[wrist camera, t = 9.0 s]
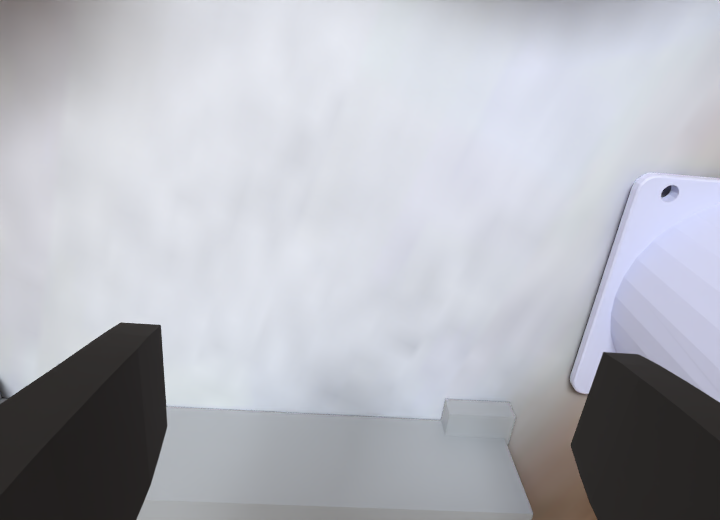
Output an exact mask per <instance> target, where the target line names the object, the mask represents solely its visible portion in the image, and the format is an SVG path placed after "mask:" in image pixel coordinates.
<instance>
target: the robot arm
mask: <svg viewBox="0 0 720 520" xmlns="http://www.w3.org/2000/svg"><path fill="white" fill-rule="evenodd" d="M670 185H672V188H671V191H670V193H669V194H668V195H667V196H665V197H662V198H661V193H662V191H663V190H664V188H666V187H667V186H670ZM570 382H571V384H572V386H573V388H574V389H575V390H576V391H577V392H578V393H582V394H588V397H587V400H586V403H585V405H584V408H583V411H582V414H581V417H580V420H579V423H578V425H577V428H576V431H575V434H574V437H573V440H572V443H571V448H572V451H573V454H574V457H575V461H576V464H577V467H578V470H579V473H580V476H581V479H582V482H583V485H584V488H585V490H586V493H587V496H588V499H589V502H590V504H591V506H592V508H593V511H594V513H595V515H596V517H597V519H598V520H720V178H710V177H699V176H688V175H677V174H665V173H654V172H653V173H646V174H644V175H642V176H640V177H639V178H638V179H637V180H636V181H635V182H634V184H633V186H632V188H631V191H630V194H629V198H628V201H627V204H626V207H625V210H624V213H623V216H622V219H621V222H620V225H619V228H618V231H617V234H616V237H615V240H614V244H613V247H612V250H611V253H610V256H609V259H608V262H607V265H606V268H605V271H604V274H603V277H602V280H601V283H600V286H599V290H598V293H597V296H596V299H595V302H594V305H593V308H592V311H591V314H590V317H589V320H588V323H587V326H586V329H585V332H584V336H583V339H582V342H581V345H580V348H579V351H578V354H577V357H576V360H575V363H574V366H573V369H572V372H571V375H570ZM166 430H167V411H166V396H165V382H164V367H163V352H162V337H161V325H151V324H135V323H119V324H118V325H116V326H115V327H113V328H111V329H110V330H108V331H107V332H105V333H104V334H102V335H101V336H99V337H98V338H96V339H95V340H93V341H92V342H91V343H89V344H88V345H86V346H85V347H83V348H82V349H80V350H79V351H78V352H76V353H75V354H73V355H72V356H70V357H69V358H68V359H66V360H65V361H63V362H62V363H60V364H59V365H57V366H56V367H54V368H53V369H52V370H50V371H49V372H47V373H46V374H44V375H43V376H41V377H40V378H38V379H37V380H35V381H34V382H32V383H31V384H29V385H28V386H26V387H25V388H23V389H22V390H20V391H19V392H18V393H16V394H15V395H13V396H12V397H10V398H9V399H7V400H5V401H4V402H2V403H1V404H0V520H137V517H138V515H139V512H140V510H141V508H142V505H143V503H144V500H145V498H146V496H147V493H148V491H149V488H150V486H151V482H152V479H153V476H154V472H155V469H156V466H157V462H158V459H159V455H160V452H161V448H162V444H163V441H164V437H165V434H166Z"/></svg>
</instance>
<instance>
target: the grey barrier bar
mask: <svg viewBox="0 0 720 520" xmlns="http://www.w3.org/2000/svg"><path fill="white" fill-rule="evenodd" d="M5 400H7V399H3V398H1V394H0V404H1V403H2V402H4V401H5ZM166 411H167V430H166V434H165V437H164V441H163V444H162V448H161V452H160V455H159V459H158V462H157V466H156V469H155V472H154V476H153V479H152V482H151V486H150V488H149V491H148V493H147V496H146V498H145V500H144V503H143V505H142V508H141V510H140V512H139V515H138V517H137V520H532V517H533V511H532V509H531V506H530V504H529V501H528V498H527V496H526V493H525V491H524V488H523V485H522V483H521V480H520V477H519V475H518V472H517V470H516V467H515V464H514V462H513V459H512V457H511V454H510V451H509V449H508V444H509V440H510V437H511V433H512V430H513V426H514V423H515V419H516V416H515V414H514V411H513V409H512V407H511V404H510V402H495V401H476V400H457V399H445V403H444V408H443V413H442V417H441V420H427V419H407V418H387V417H367V416H346V415H326V414H306V413H286V412H266V411H245V410H225V409H205V408H185V407H166Z"/></svg>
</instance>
